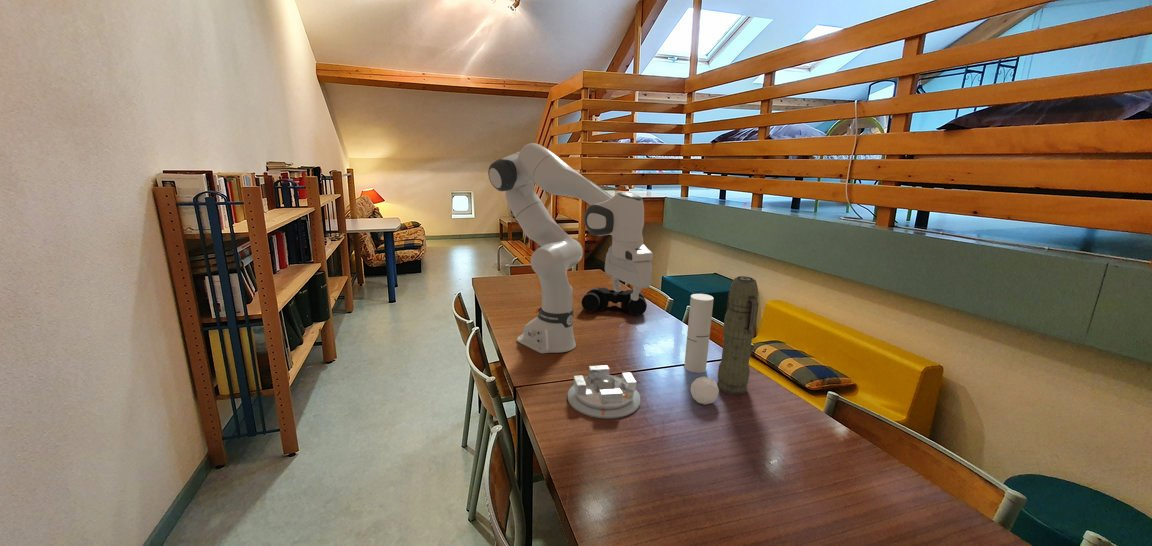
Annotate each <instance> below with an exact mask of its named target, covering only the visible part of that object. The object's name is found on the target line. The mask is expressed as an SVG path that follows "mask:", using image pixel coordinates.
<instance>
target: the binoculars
mask: <svg viewBox="0 0 1152 546" xmlns="http://www.w3.org/2000/svg"><path fill="white" fill-rule="evenodd" d="M633 291H634V289H627V290H621V291H620V292H616V291H614V289H609V288H607V287H598V286H597V287H593V288H592V289H590V290H589V291H587V293H586V294H584V296H583V297H582V299H581V306H582V308H583V310H585V311H587V312H592V313H593V312H601V311H605V310H606V309H607V308H608V306H609V303H612V304H615V305H617V304H619V303H621V304H620V307H621V309H622V311H623V312H625V313H626V314H632V315H634V316H642V315H643V314H645V313H646V311H647V307H648V306H647V305H648V303H647V301H646V298H645V296H644V294H643V293H642V292H641V291H640V293H639V299H638V300H636V301H634V300H632V299H631V294H632V293H633Z"/></svg>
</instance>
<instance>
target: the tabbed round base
mask: <svg viewBox="0 0 1152 546" xmlns="http://www.w3.org/2000/svg"><path fill="white" fill-rule="evenodd" d="M573 385H574V388H575V397H576V399H577V400H578V401H579V402H580V403H581V404H583V405H585V406H587V407H590V408H593V409H598V410H617V409H621V408H624V407H626V406H628V405H629V404H630V403H631V402H632V401H633V396H634V391H636V390H637V389H636V388H637V381H636V380H635V378H634V376H633V374H632V372H622V373H621V377H619V376H617V375H611V374H610V367H609V366H608V365H607V364H604V365H602V364H601V365H589V366H588V375H587V376H585V377H584V375H583V374H582V375H573Z"/></svg>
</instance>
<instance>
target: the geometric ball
mask: <svg viewBox="0 0 1152 546" xmlns="http://www.w3.org/2000/svg"><path fill="white" fill-rule="evenodd" d="M717 383H718V382H716V381H715V380H714V379H712V378H711V377H708V376H704V375H703V376H700V377H697V378H695V380H694V381H692V382H691V386H690V393H691V397H692V398H693V399H694V401H695V402H697V403H698V404H701V405H709V404H710V405H711V404H713V403H714V402H715V401H716V400H717V399H718V397H719V392H720V389H719V388H718V386H717Z"/></svg>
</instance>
